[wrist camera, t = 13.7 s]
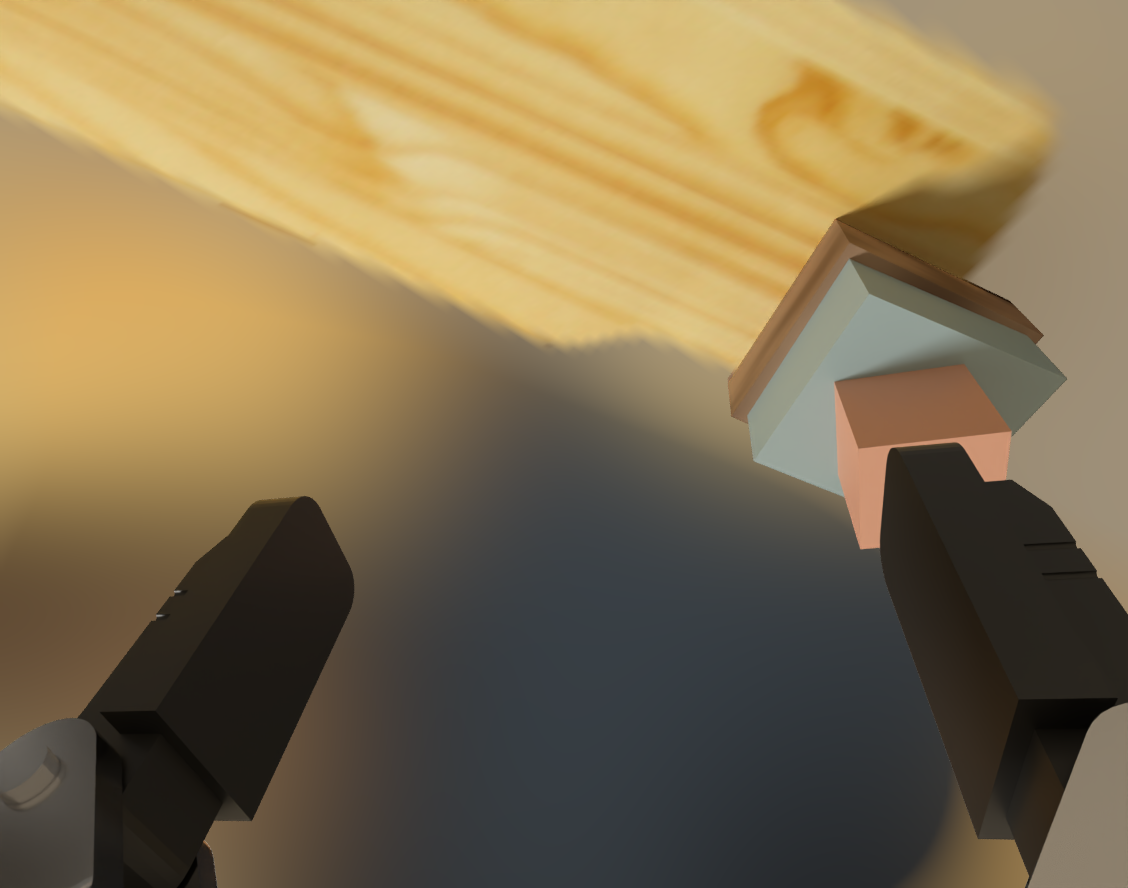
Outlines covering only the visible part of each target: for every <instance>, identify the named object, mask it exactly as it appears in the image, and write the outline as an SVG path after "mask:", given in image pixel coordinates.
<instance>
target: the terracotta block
mask: <svg viewBox="0 0 1128 888" xmlns="http://www.w3.org/2000/svg"><path fill="white" fill-rule="evenodd" d="M834 390H835V414H836V438H837V462H838V476H839V480H840V483H841V486H842V490H843V493H844V496H845V499H846V502H847V506H848V509H849V513H850V516H851V519H852V523H853V526H854V529H855V532H856V535H857V539H858V542H859V546H860V549H867V548H880V530H881V518H882V507H883V495H884V484H885V473H886V462H887V456H888V453H889V451H890V449H891V448H894V447H905V446H917V445H929V444H940V443H952V442H957V443H959V444H960V445H962V446H963V448H964V449H965V451H966V452H967V454H968V455H969V457H970V459H971V460H972V462H973V464H974V465H975V467H976V468H977V470H978V472H979V473H980V475H981V477H982V478H983V480H984V481H985V482H988V481H1001V480H1006V474H1007V466H1008V458H1009V450H1010V441H1011V433H1012V431H1011V430H1010V428H1009V427H1008V425H1007V424H1006V423H1005V421H1004V420H1003V418H1002V417H1001V416H1000V414H999V413H998V411H997V410H996V408H995V407H994V406H993V404H992V403H991V401H990V400H989V398H988V397H987V396H986V394H985V393H984V391H983V390H982V389H981V387H980V386H979V384H978V383H977V381H976V380H975V379H974V377H973V376H972V374H971V373H970V372H969V370H968V369H967V367H966V366H965V364H960V365H953V366H945V367H938V368H931V369H923V370H916V371H909V372H902V373H894V374H887V375H880V376H873V377H865V378H858V379H851V380H843V381H836V382H834Z"/></svg>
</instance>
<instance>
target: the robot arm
mask: <svg viewBox="0 0 1128 888" xmlns="http://www.w3.org/2000/svg"><path fill="white" fill-rule="evenodd" d="M880 555H881V563H882V569H883V574H884V578H885V582H886V585H887V588H888V591H889V594H890V596H891V599H892V602H893V605H894V608H895V610H896V613H897V616H898V619H899V621H900V624H901V627H902V629H903V632H904V635H905V638H906V641H907V644H908V646H909V649H910V652H911V655H912V657H913V660H914V663H915V666H916V668H917V671H918V674H919V677H920V679H921V682H922V685H923V688H924V690H925V693H926V696H927V699H928V702H929V704H930V707H931V710H932V713H933V716H934V718H935V721H936V724H937V726H938V729H939V732H940V735H941V738H942V741H943V743H944V746H945V749H946V752H947V754H948V757H949V760H950V763H951V765H952V768H953V771H954V774H955V776H956V779H957V782H958V785H959V787H960V790H961V793H962V796H963V799H964V801H965V804H966V807H967V810H968V812H969V815H970V818H971V821H972V824H973V826H974V829H975V832H976V835H977V837H978V839H1011V840H1013V839H1014V840H1015V842H1016V844H1017V847H1018V849H1019V852H1020V854H1021V857H1022V859H1023V862H1024V864H1025V867H1026V869H1027V872H1028V874H1029V878H1028V881H1027V884H1026V886H1025V888H1128V614H1127V613H1126V611H1125V610H1124V608H1123V607H1122V606H1121V604H1120V603H1119V601H1118V600H1117V598H1116V597H1115V596H1114V595H1113V593H1112V592H1111V590H1110V589H1109V587H1108V586H1107V585H1106V583H1105V582H1104V580H1103V579H1102V578H1098V577H1097V574H1096V571H1097V570H1096V569H1095V568H1094V566H1093V565H1092V563H1091V562H1090V560H1089V559H1088V558H1087V556H1086V555H1085V553H1084V552H1083V551H1082V549H1081V548H1079V549H1078V548H1077V547H1076V541H1075V539H1074V538H1073V536H1072V535H1071V534H1070V532H1069V531H1068V529H1067V528H1066V527H1065V525H1064V524H1063V522H1062V521H1061V520H1060V518H1059V517H1058V515H1057V514H1056V513H1055V511H1054V510H1053V508H1052V507H1051V506H1049V505H1048V504H1046V503H1045V502H1044V501H1042V500H1040V499H1039V498H1037V497H1036V496H1035V495H1033V494H1032V493H1030V492H1029V491H1027V490H1026V489H1025V488H1023V487H1022V486H1020V485H1018V484H1017V483H1016V482H1014V481H1013V480H1001V481H988V482H985V481H984V480H983V478H982V477H981V475H980V473H979V472H978V470H977V468H976V467H975V465H974V464H973V462H972V460H971V459H970V457H969V455H968V454H967V452H966V451H965V449H964V448H963V446H962V445H960V444H959V443H957V442H952V443H940V444H929V445H917V446H905V447H894V448H891V449H890V451H889V453H888V456H887V462H886V473H885V484H884V495H883V507H882V518H881V530H880ZM174 592H175V595H174V596H173V597H169V598H168V600H167V601H166V602H165V604H164V605H163V606H162V608H161V609H160V610H159V612H158V613H157V614H156V616H157V619H156V621H151V622H150V623H149V625H148V626H147V627H146V629H145V630H144V631H143V633H142V634H141V635H140V637H139V638H138V639H137V641H136V642H135V643H134V645H133V646H132V647H131V648H130V650H129V651H128V652H127V654H126V655H125V656H124V658H123V659H122V660H121V662H120V663H119V664H118V666H117V667H116V668H115V670H114V671H113V672H112V674H111V675H110V677H109V678H108V679H107V680H106V682H105V683H104V684H103V686H102V687H101V688H100V690H99V691H98V692H97V694H96V695H95V696H94V697H93V699H92V700H91V701H90V703H89V704H88V705H87V707H86V708H85V709H84V711H83V712H82V713H81V714H80V715H79V717H78V718H67V719H61V720H56V721H53V722H50V723H47V724H45V725H42V726H40V727H38V728H36V729H33V730H32V731H30V732H28V733H26V734H25V735H23V736H21V737H20V738H18V739H17V740H15V741H14V742H12V743H11V744H10V745H8V746H7V747H6V748H4V749H3V750H2V751H1V752H0V888H217V880H216V873H215V865H214V858H213V854H212V850H211V849H210V847H209V845H208V844H207V843H206V842H205V841H204V839H205V837H206V835H207V833H208V831H209V829H210V827H211V826H212V824H213V821H214V820H218V821H221V820H222V821H252V820H253V817H254V815H255V813H256V811H257V809H258V806H259V805H260V803H261V800H262V798H263V796H264V794H265V792H266V790H267V787H268V785H269V783H270V781H271V779H272V777H273V775H274V773H275V770H276V768H277V766H278V764H279V762H280V760H281V758H282V755H283V753H284V751H285V749H286V747H287V745H288V742H289V740H290V738H291V736H292V734H293V732H294V730H295V728H296V725H297V723H298V721H299V719H300V717H301V715H302V713H303V710H304V708H305V706H306V704H307V702H308V700H309V698H310V695H311V693H312V691H313V689H314V687H315V685H316V683H317V680H318V678H319V676H320V674H321V672H322V670H323V667H324V665H325V663H326V661H327V659H328V657H329V655H330V653H331V650H332V648H333V646H334V644H335V642H336V640H337V638H338V635H339V633H340V631H341V629H342V627H343V625H344V623H345V621H346V618H347V616H348V614H349V612H350V609H351V607H352V603H353V598H354V579H353V574H352V571H351V568H350V566H349V564H348V562H347V560H346V558H345V556H344V554H343V552H342V551H341V548H340V546H339V544H338V542H337V540H336V538H335V536H334V534H333V533H332V531H331V529H330V527H329V525H328V523H327V521H326V519H325V517H324V515H323V513H322V511H321V509H320V507H319V505H318V504H317V503H316V502H315V501H314V500H313V499H312V498H310V497H306V496H303V497H290V498H278V499H267V500H259V501H256V502H255V503H253V504H252V505H251V506H250V507H249V508H248V510H247V511H246V512H245V514H244V515H243V516H242V518H241V519H240V520H239V522H238V523H237V525H236V526H235V527H234V529H233V530H232V531H231V533H230V534H229V535H228V536H227V537H225V538H224V539H223V540H222V541H221V542H220V543H218V544H217V545H216V546H215V547H213V548H212V549H211V550H210V551H209V552H208V553H206V554H205V555H204V556H203V557H201V558H200V559H199V560H198V561H197V562H196V563H195V564H194V565H193V567H192V568H191V569H190V571H189V572H188V573H187V575H186V576H185V577H184V579H183V580H182V581H181V583H180V584H179V585H178V587H177V588H176V589H175V590H174Z"/></svg>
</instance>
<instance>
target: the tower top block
mask: <svg viewBox="0 0 1128 888" xmlns="http://www.w3.org/2000/svg"><path fill="white" fill-rule="evenodd" d="M960 364H965V366H966V367H967V369H968V370H969V372H970V373H971V374H972V376H973V377H974V379H975V380H976V381H977V383H978V384H979V386H980V387H981V389H982V390H983V391H984V393H985V394H986V396H987V397H988V398H989V400H990V401H991V403H992V404H993V406H994V407H995V408H996V410H997V411H998V413H999V414H1000V416H1001V417H1002V418H1003V420H1004V421H1005V423H1006V424H1007V425H1008V427H1009V428H1010V430H1011V431H1012V433H1011V437H1012V436H1013V435H1014V434H1015V433H1016V432H1017V431H1018V430H1019V429H1020V428H1021V427H1022V426H1023V425H1024V424H1025V422H1026V421H1027V420H1028V419H1029V418H1030V417H1031V416H1032V415H1033V414H1034V413H1035V412H1036V411H1037V410H1038V409H1039V408H1040V407H1041V406H1042V405H1043V404H1044V403H1045V402H1046V400H1048V399H1049V397H1050V396H1051V395H1052V394H1053V393H1054V392H1055V391H1056V390H1057V389H1058V388H1059V387H1060V386H1061V385H1062V384H1063V383H1064V382H1065V381H1066V380H1067V378H1066V377H1065V376H1064V375H1063V374H1062V372H1060V370H1059V369H1058V368H1057V367H1056V366H1055V365H1054V364H1053V363H1052V362H1051V361H1050V360H1049V359H1048V357H1047V356H1046V355H1045V354H1044V353H1043V352H1042V351H1041V350H1040V349H1039V348H1038V347H1037V346H1036V345H1035V343H1034V342H1033V341H1032V340H1031V339H1030V338H1029V337H1028V336H1027V335H1025V334H1022V333H1020V332H1018V331H1015V330H1013V329H1011V328H1008V327H1006V326H1004V325H1002V324H999V323H997V322H995V321H992V320H990V319H988V318H985V317H983V316H981V315H978V314H976V313H974V312H971V311H969V310H967V309H965V308H962V307H960V306H958V305H955V304H953V303H951V302H948V301H946V300H944V299H941V298H939V297H937V296H934V295H932V294H930V293H928V292H925V291H923V290H921V289H918V288H916V287H914V286H911V285H909V284H907V283H904V282H902V281H900V280H897V279H895V278H893V277H891V276H888V275H886V274H884V273H881V272H879V271H877V270H874V269H872V268H870V267H867V266H865V265H863V264H861V263H858V262H856V261H854V260H851V259H849V260H848V261H847V263H846V264H845V266H844V267H843V269H842V271H841V272H840V274H839V275H838V277H837V278H836V280H835V281H834V283H833V284H832V286H831V288H830V289H829V291H828V292H827V294H826V295H825V297H824V298H823V300H822V301H821V303H820V304H819V306H818V308H817V309H816V311H815V312H814V314H813V315H812V317H811V318H810V320H809V321H808V323H807V324H806V326H805V328H804V329H803V331H802V332H801V334H800V335H799V337H798V338H797V340H796V341H795V343H794V344H793V346H792V348H791V349H790V351H789V352H788V354H787V355H786V357H785V358H784V360H783V361H782V363H781V364H780V366H779V368H778V369H777V371H776V372H775V374H774V375H773V377H772V378H771V380H770V381H769V383H768V385H767V386H766V388H765V389H764V391H763V392H762V394H761V395H760V397H759V398H758V400H757V401H756V403H755V405H754V406H753V408H752V409H751V411H750V412H749V414H748V415H747V417H748V424H749V431H750V438H751V445H752V452H753V460H754V461H755V462H757V463H760V464H762V465H765V466H767V467H770V468H773V469H775V470H778V471H780V472H783V473H785V474H788V475H790V476H793V477H795V478H798V479H800V480H803V481H805V482H808V483H810V484H813V485H815V486H818V487H820V488H823V489H825V490H828V491H830V492H833V493H835V494H838V495H841V496H843V497H845V496H844V493H843V490H842V486H841V483H840V480H839V476H838V462H837V438H836V414H835V390H834V382H836V381H843V380H851V379H858V378H865V377H873V376H880V375H887V374H894V373H902V372H909V371H916V370H923V369H931V368H938V367H945V366H953V365H960Z"/></svg>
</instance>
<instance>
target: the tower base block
mask: <svg viewBox="0 0 1128 888" xmlns="http://www.w3.org/2000/svg"><path fill="white" fill-rule="evenodd" d="M849 259H851V260H854V261H856V262H858V263H861V264H863V265H865V266H867V267H870V268H872V269H874V270H877V271H879V272H881V273H884V274H886V275H888V276H891V277H893V278H895V279H897V280H900V281H902V282H904V283H907V284H909V285H911V286H914V287H916V288H918V289H921V290H923V291H925V292H928V293H930V294H932V295H934V296H937V297H939V298H941V299H944V300H946V301H948V302H951V303H953V304H955V305H958V306H960V307H962V308H965V309H967V310H969V311H971V312H974V313H976V314H978V315H981V316H983V317H985V318H988V319H990V320H992V321H995V322H997V323H999V324H1002V325H1004V326H1006V327H1008V328H1011V329H1013V330H1015V331H1018V332H1020V333H1022V334H1025V335H1027V336H1028V337H1029V338H1030V339H1031V340H1032V341H1033V342H1034V343H1035V344H1036V343H1037V342H1038V341H1039V340H1040V339H1041V338H1042V337H1043V336H1044V335H1043V334H1042V333H1041V332H1040V331H1039V330H1038V329H1037V328H1036V327H1035V326H1034V325H1033V324H1032V323H1031V322H1030V321H1029V320H1028V319H1027V318H1026V317H1025V316H1024V315H1023V314H1022V313H1021V312H1020V311H1019V310H1018V309H1017V308H1016V307H1015V306H1014V305H1013V304H1012V303H1011V302H1010V301H1009V300H1007V299H1005V298H1003V297H1001V296H999V295H997V294H995V293H993V292H991V291H989V290H986V289H984V288H982V287H980V286H978V285H976V284H974V283H972V282H970V281H967V282H966V281H963V280H961V279H959V278H957V277H955V276H953V275H951V274H949V273H947V272H945V271H943V270H941V269H938V268H936V267H934V266H932V265H930V264H928V263H926V262H924V261H922V260H920V259H918V258H916V257H914V256H911V255H909V254H907V253H905V252H903V251H901V250H899V249H897V248H895V247H893V246H891V245H889V244H886V243H884V242H882V241H880V240H878V239H876V238H874V237H872V236H870V235H868V234H866V233H864V232H862V231H859V230H857V229H855V228H853V227H851V226H849V225H847V224H845V223H843V222H841V221H839V220H837V219H835V220H834V221H833V223H832V225H831V226H830V228H829V229H828V231H827V232H826V234H825V235H824V237H823V238H822V240H821V241H820V243H819V244H818V246H817V248H816V249H815V251H814V252H813V254H812V255H811V257H810V258H809V260H808V261H807V263H806V264H805V266H804V267H803V269H802V270H801V272H800V274H799V275H798V277H797V278H796V280H795V281H794V283H793V284H792V286H791V287H790V289H789V290H788V292H787V293H786V295H785V297H784V298H783V300H782V301H781V303H780V304H779V306H778V307H777V309H776V310H775V312H774V313H773V315H772V316H771V318H770V319H769V321H768V323H767V324H766V326H765V327H764V329H763V330H762V332H761V333H760V335H759V336H758V338H757V339H756V341H755V342H754V344H753V346H752V347H751V349H750V350H749V352H748V353H747V355H746V356H745V358H744V359H743V361H742V362H741V364H740V365H739V367H738V369H737V370H735V369H734V370H733V371H732V373H731V374H730V376H729V377H728V389H729V398H730V407H731V416H732V417H734V418H736V419H739V420H740V421H743V422H745V423H748V417H747V415H748V414H749V412H750V411H751V409H752V408H753V406H754V405H755V403H756V401H757V400H758V398H759V397H760V395H761V394H762V392H763V391H764V389H765V388H766V386H767V385H768V383H769V381H770V380H771V378H772V377H773V375H774V374H775V372H776V371H777V369H778V368H779V366H780V364H781V363H782V361H783V360H784V358H785V357H786V355H787V354H788V352H789V351H790V349H791V348H792V346H793V344H794V343H795V341H796V340H797V338H798V337H799V335H800V334H801V332H802V331H803V329H804V328H805V326H806V324H807V323H808V321H809V320H810V318H811V317H812V315H813V314H814V312H815V311H816V309H817V308H818V306H819V304H820V303H821V301H822V300H823V298H824V297H825V295H826V294H827V292H828V291H829V289H830V288H831V286H832V284H833V283H834V281H835V280H836V278H837V277H838V275H839V274H840V272H841V271H842V269H843V267H844V266H845V264H846V263H847V261H848V260H849Z"/></svg>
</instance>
